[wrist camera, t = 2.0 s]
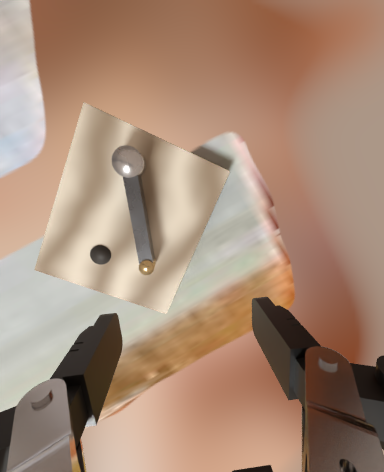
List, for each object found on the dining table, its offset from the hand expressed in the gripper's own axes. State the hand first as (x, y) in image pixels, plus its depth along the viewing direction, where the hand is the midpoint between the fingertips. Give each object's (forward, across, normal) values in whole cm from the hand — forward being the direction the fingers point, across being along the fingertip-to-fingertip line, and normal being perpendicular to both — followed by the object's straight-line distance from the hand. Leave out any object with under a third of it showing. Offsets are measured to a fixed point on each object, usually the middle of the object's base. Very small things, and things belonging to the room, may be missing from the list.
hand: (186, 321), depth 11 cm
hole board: (+18, +6, -3) cm, 19 cm away
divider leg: (+16, +5, -4) cm, 17 cm away
